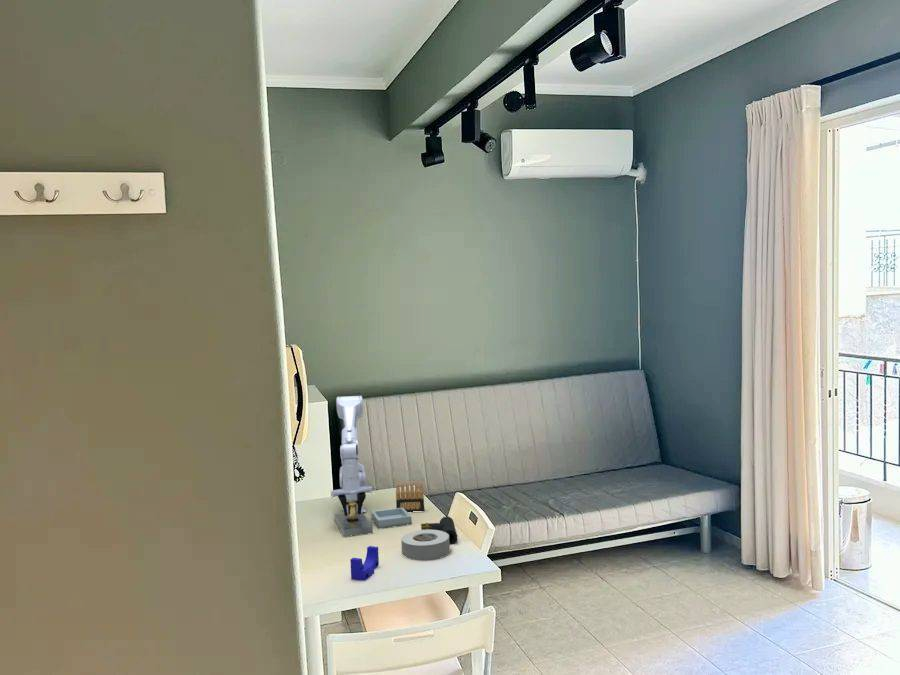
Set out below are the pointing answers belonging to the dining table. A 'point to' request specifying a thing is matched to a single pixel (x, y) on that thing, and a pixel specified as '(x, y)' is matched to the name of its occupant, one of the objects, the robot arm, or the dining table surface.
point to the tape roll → (425, 544)
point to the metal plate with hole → (353, 524)
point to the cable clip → (365, 564)
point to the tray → (391, 517)
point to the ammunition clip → (410, 497)
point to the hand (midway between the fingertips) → (352, 514)
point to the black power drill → (443, 528)
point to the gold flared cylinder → (352, 510)
